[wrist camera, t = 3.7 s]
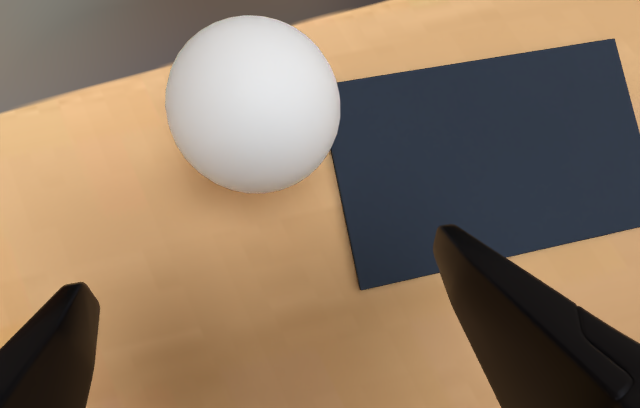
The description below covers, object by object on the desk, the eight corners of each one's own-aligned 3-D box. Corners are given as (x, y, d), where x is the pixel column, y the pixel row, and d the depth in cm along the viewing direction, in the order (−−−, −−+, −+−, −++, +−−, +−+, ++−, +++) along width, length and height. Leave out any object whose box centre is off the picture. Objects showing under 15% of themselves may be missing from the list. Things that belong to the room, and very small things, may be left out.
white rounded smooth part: (272, 83, 22) (265, -68, 11) (339, 164, 22) (397, 92, 11) (187, 147, 21) (88, 51, 10) (256, 231, 21) (232, 225, 10)
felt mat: (360, 289, 22) (361, 290, 21) (317, 87, 22) (318, 85, 22) (658, 221, 24) (663, 221, 24) (610, 40, 25) (614, 38, 24)
